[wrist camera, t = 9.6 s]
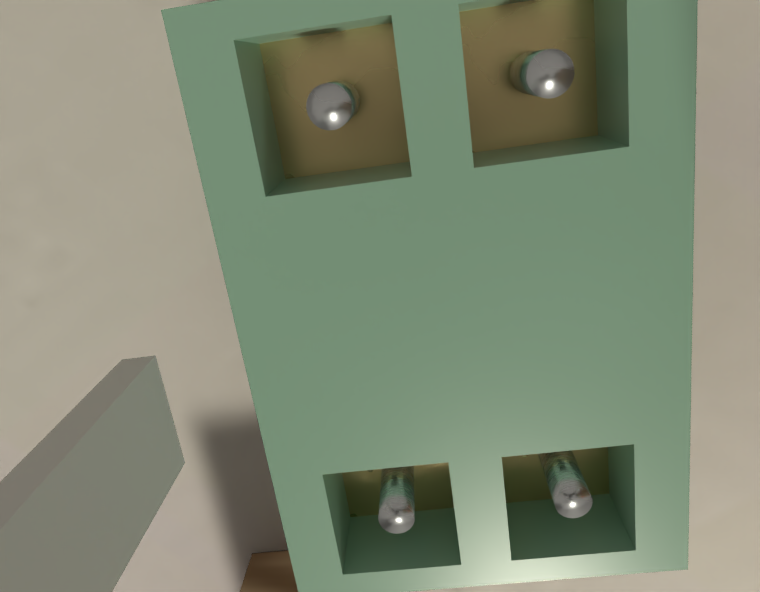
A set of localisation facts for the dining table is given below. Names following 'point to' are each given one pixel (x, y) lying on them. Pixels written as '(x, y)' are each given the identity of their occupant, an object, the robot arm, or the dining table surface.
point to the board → (460, 297)
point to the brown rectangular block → (269, 573)
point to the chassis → (488, 132)
